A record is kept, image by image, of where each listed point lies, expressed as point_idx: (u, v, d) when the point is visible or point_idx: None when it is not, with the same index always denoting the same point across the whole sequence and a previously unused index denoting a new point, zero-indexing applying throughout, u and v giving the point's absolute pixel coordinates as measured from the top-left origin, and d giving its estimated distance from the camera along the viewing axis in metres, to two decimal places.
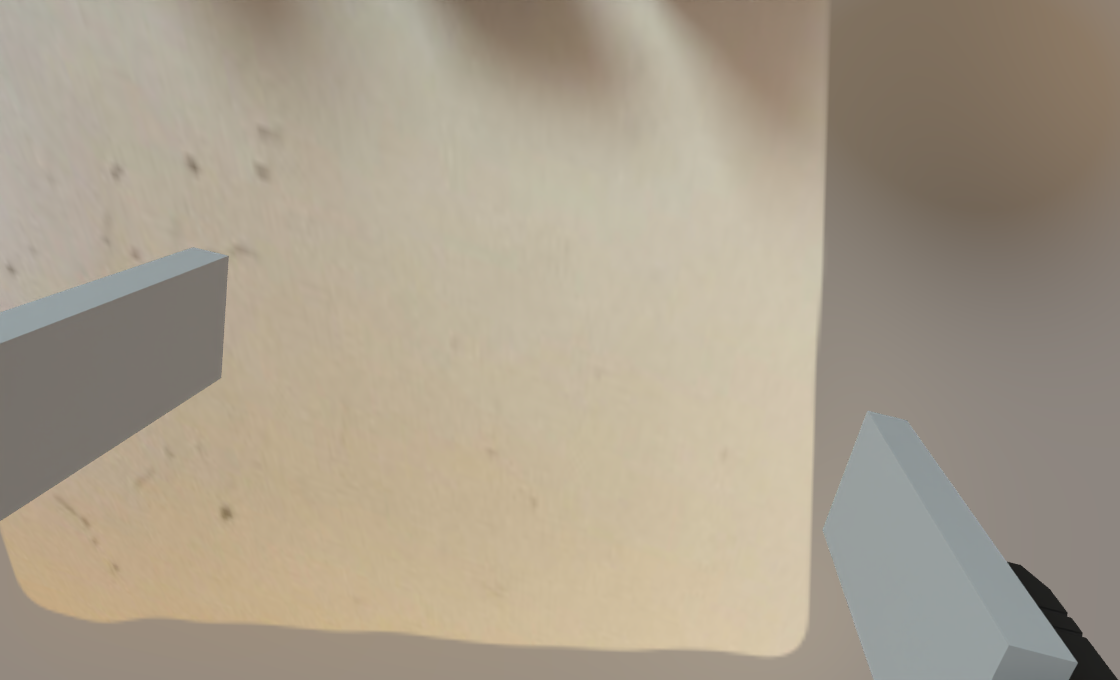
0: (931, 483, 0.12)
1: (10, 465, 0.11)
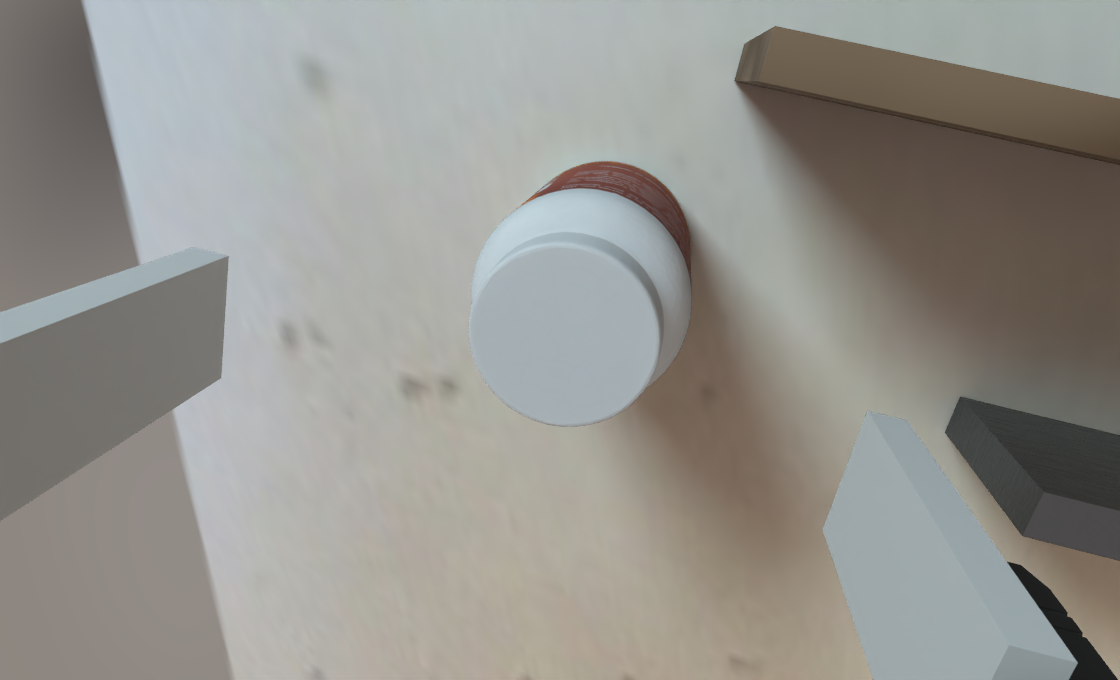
0: (931, 483, 0.12)
1: (10, 465, 0.11)
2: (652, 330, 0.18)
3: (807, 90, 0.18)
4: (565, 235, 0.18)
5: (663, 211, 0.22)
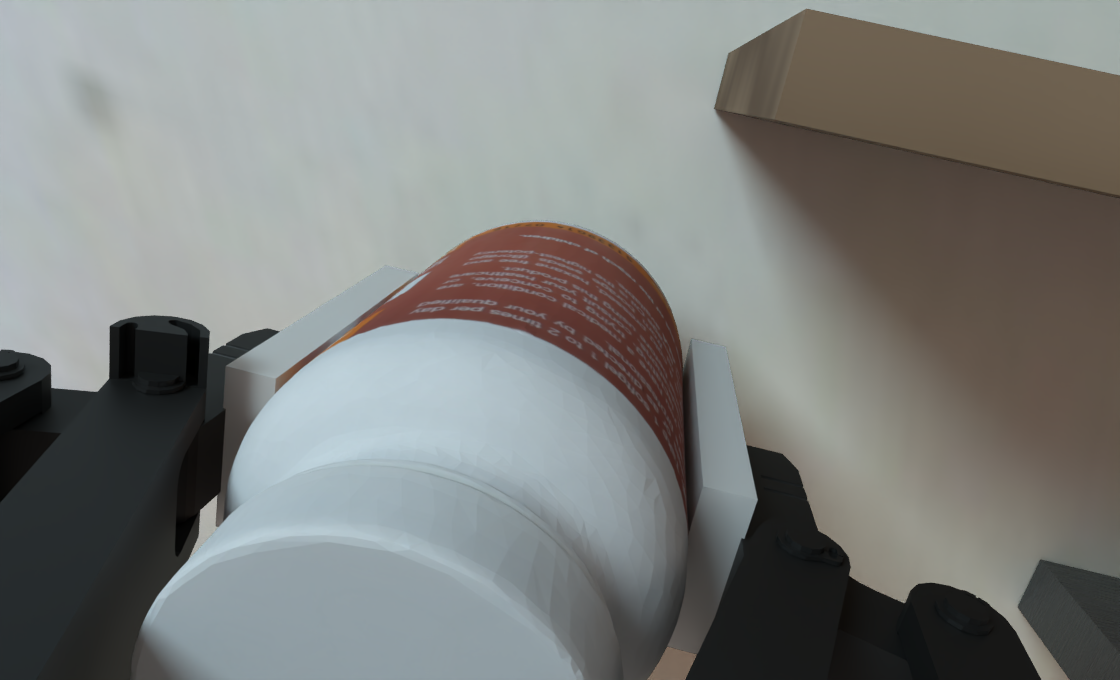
0: (715, 388, 0.14)
1: None
2: None
3: (869, 137, 0.09)
4: (366, 484, 0.07)
5: (630, 345, 0.11)
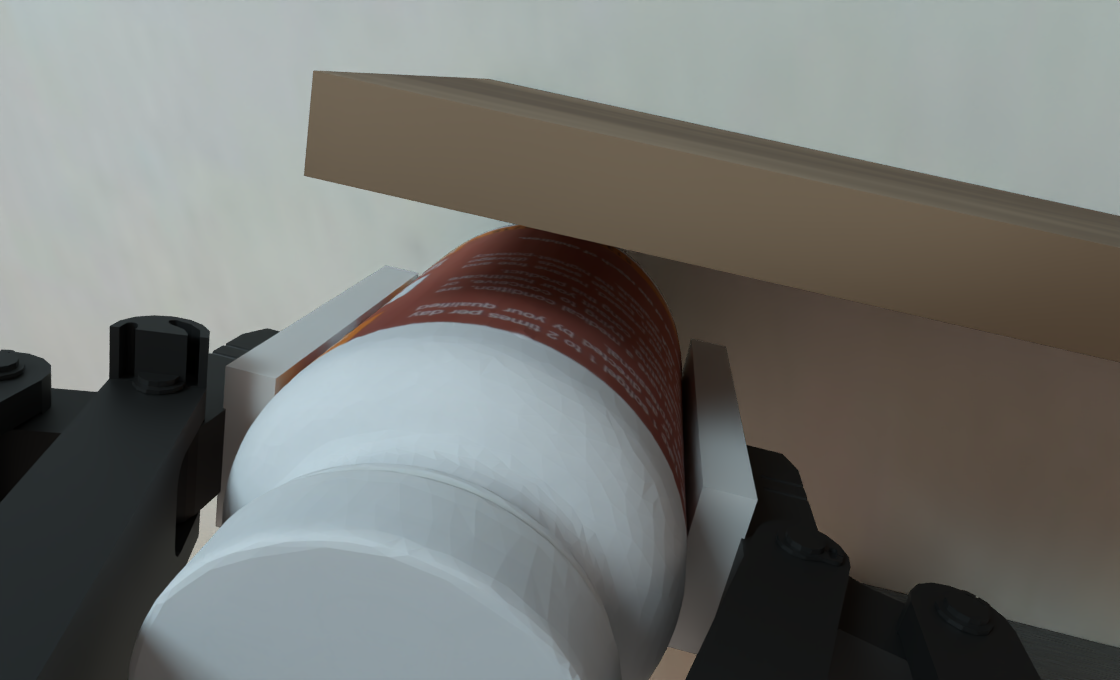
0: (715, 388, 0.14)
1: None
2: None
3: (394, 193, 0.09)
4: (364, 488, 0.07)
5: (629, 347, 0.11)
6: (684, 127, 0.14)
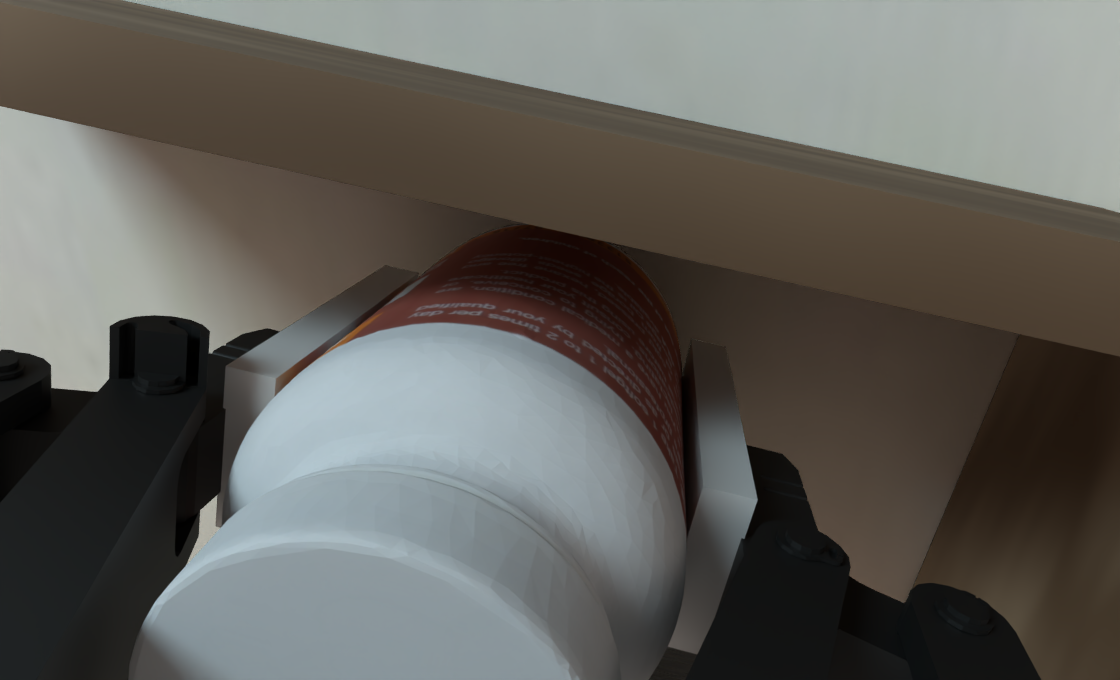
0: (715, 388, 0.14)
1: None
2: None
3: None
4: (363, 489, 0.07)
5: (629, 348, 0.11)
6: (101, 1, 0.15)
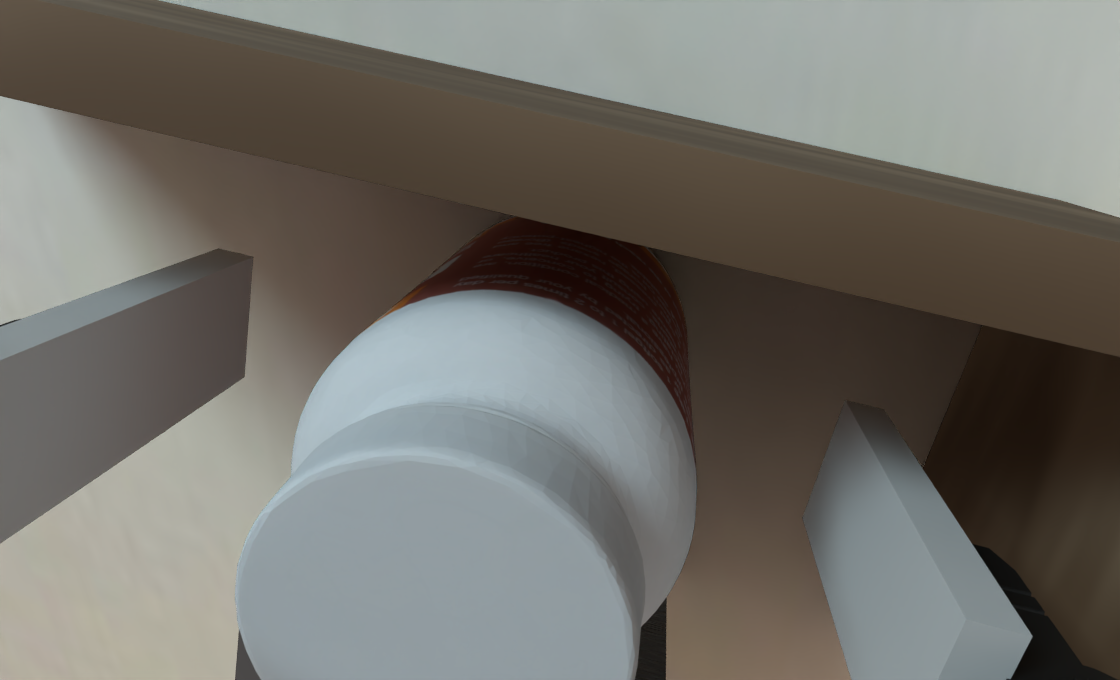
0: (903, 468, 0.12)
1: (49, 462, 0.11)
2: (619, 632, 0.08)
3: None
4: (433, 418, 0.09)
5: (644, 316, 0.13)
6: None
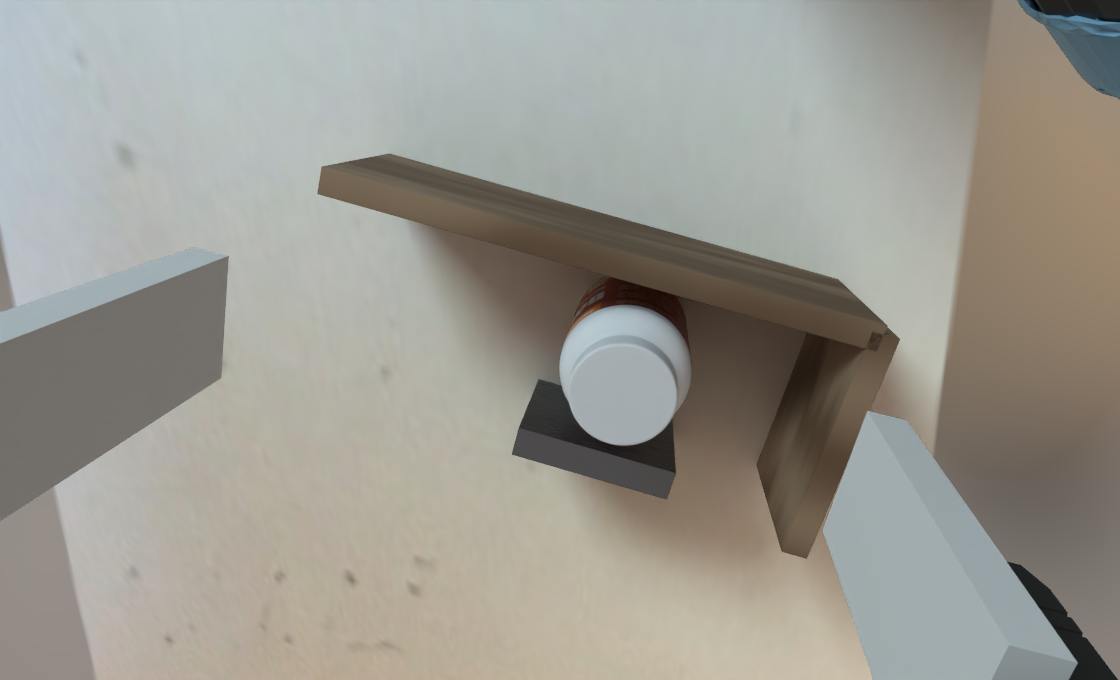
0: (931, 483, 0.12)
1: (10, 465, 0.11)
2: (673, 393, 0.32)
3: (342, 200, 0.33)
4: (626, 338, 0.32)
5: (675, 316, 0.37)
6: (454, 180, 0.39)
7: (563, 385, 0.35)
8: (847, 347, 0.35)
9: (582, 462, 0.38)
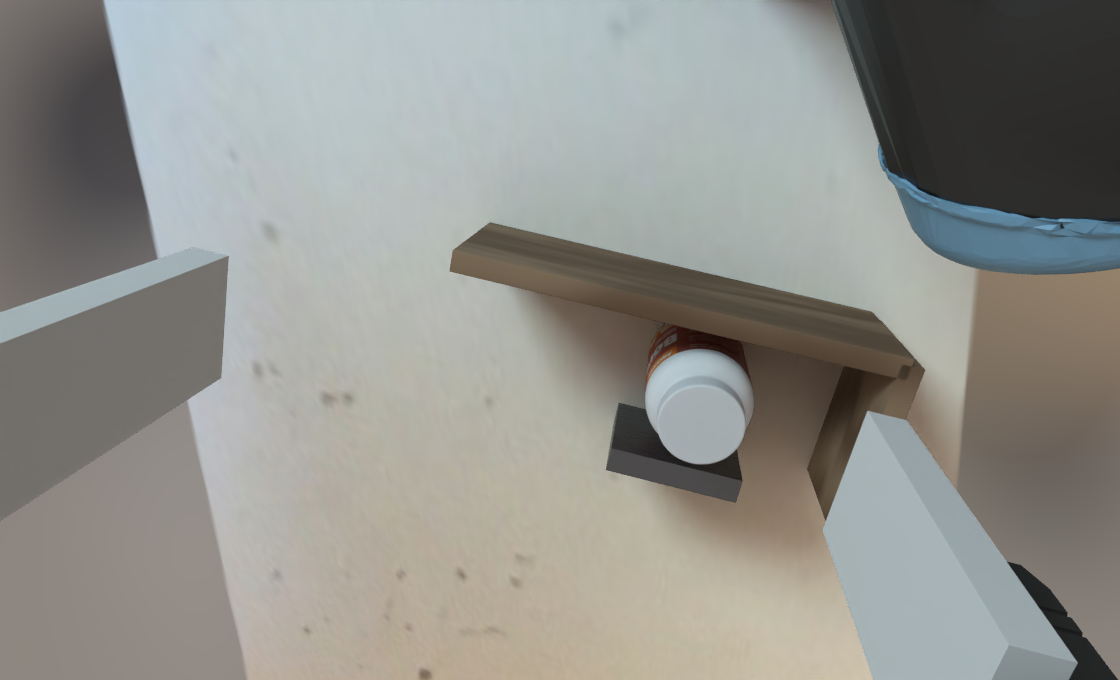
0: (931, 483, 0.12)
1: (10, 465, 0.11)
2: (742, 422, 0.40)
3: (469, 275, 0.42)
4: (702, 379, 0.41)
5: (737, 354, 0.45)
6: (548, 246, 0.47)
7: (649, 415, 0.44)
8: (882, 375, 0.43)
9: (664, 475, 0.46)
